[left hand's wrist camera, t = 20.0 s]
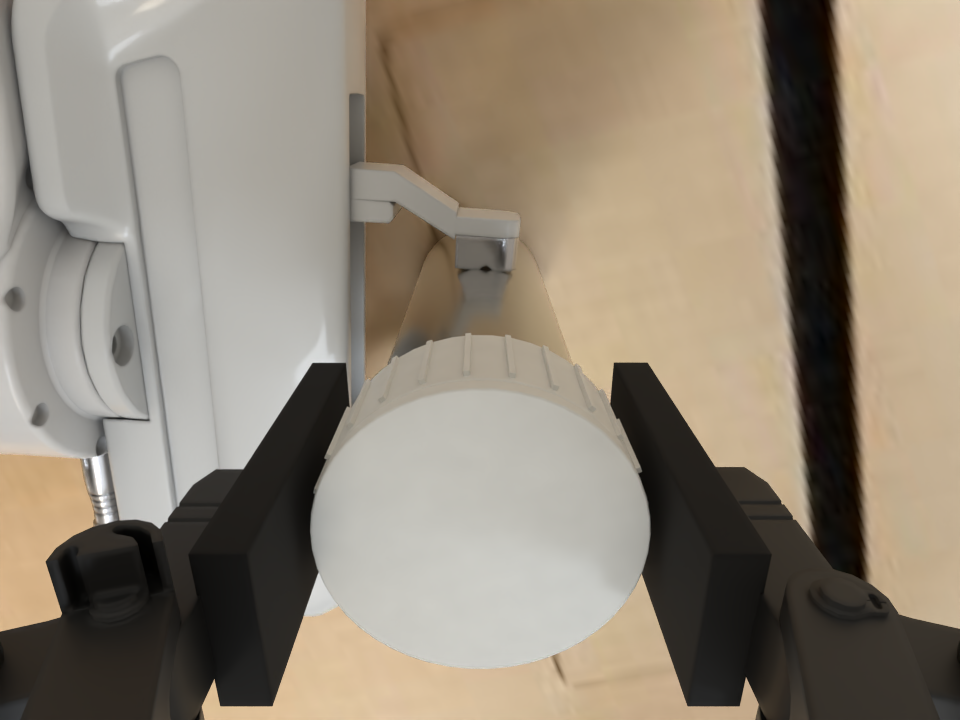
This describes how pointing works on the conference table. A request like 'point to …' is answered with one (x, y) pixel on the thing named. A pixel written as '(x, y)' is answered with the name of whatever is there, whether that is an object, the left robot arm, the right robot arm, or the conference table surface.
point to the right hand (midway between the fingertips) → (509, 339)
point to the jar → (479, 303)
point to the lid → (480, 505)
